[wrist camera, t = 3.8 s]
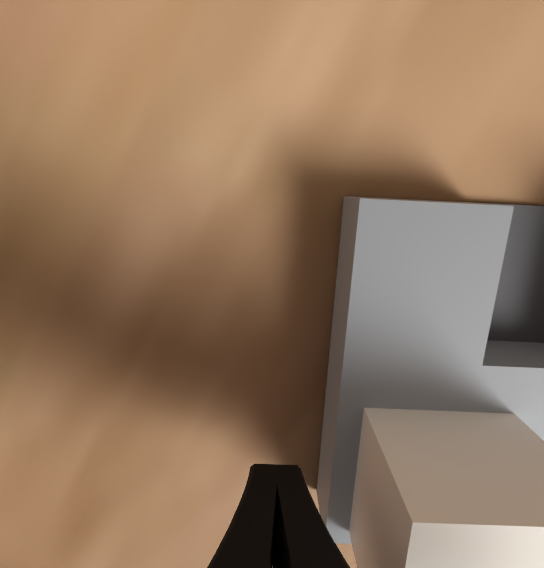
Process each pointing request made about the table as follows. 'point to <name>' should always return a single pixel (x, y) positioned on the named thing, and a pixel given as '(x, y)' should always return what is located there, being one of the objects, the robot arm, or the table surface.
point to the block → (447, 491)
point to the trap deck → (430, 323)
